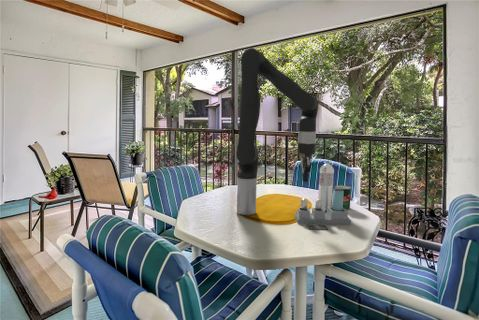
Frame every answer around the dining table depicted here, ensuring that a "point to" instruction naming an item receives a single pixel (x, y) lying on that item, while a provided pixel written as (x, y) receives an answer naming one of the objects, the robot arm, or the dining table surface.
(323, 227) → the rubber mat
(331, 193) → the water bottle
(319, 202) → the plunger
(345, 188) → the canned tomato
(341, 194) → the blue capsule with label
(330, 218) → the filter housing
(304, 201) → the plunger
